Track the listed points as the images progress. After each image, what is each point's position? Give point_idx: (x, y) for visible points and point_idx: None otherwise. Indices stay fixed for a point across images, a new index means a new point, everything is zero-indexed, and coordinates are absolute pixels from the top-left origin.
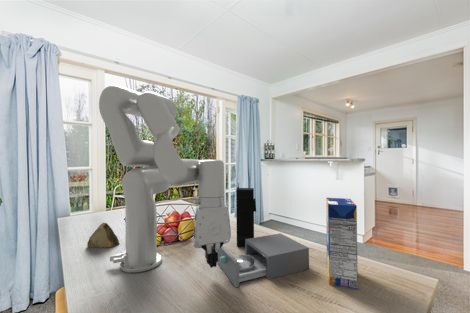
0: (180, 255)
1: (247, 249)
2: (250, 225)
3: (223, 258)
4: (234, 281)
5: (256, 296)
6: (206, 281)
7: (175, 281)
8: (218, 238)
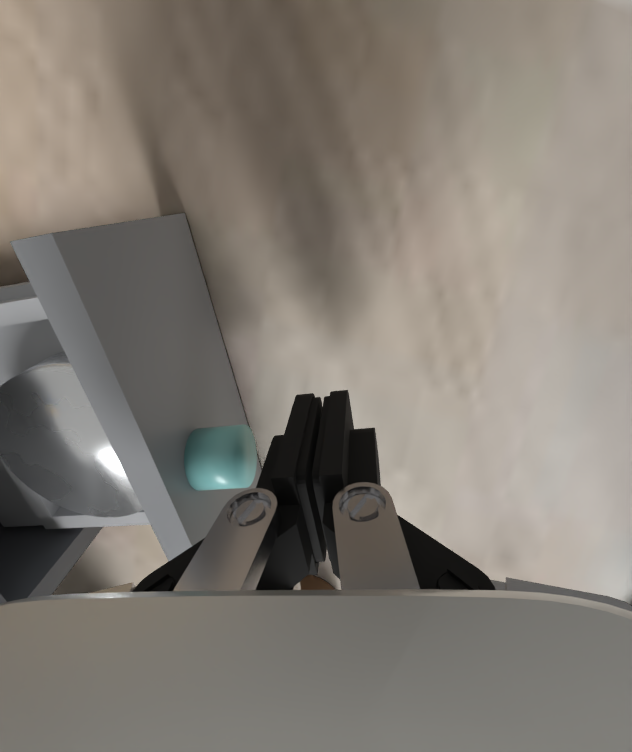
0: None
1: (47, 565)
2: None
3: (214, 454)
4: (179, 243)
5: (32, 38)
6: (383, 351)
7: (595, 410)
8: (127, 693)
